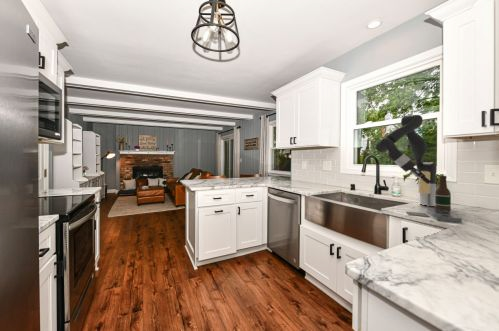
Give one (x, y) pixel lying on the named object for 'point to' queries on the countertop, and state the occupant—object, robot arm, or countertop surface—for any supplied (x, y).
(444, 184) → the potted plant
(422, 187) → the wooden square peg
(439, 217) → the grey slotted plate
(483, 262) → the countertop surface
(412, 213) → the rubber mat
